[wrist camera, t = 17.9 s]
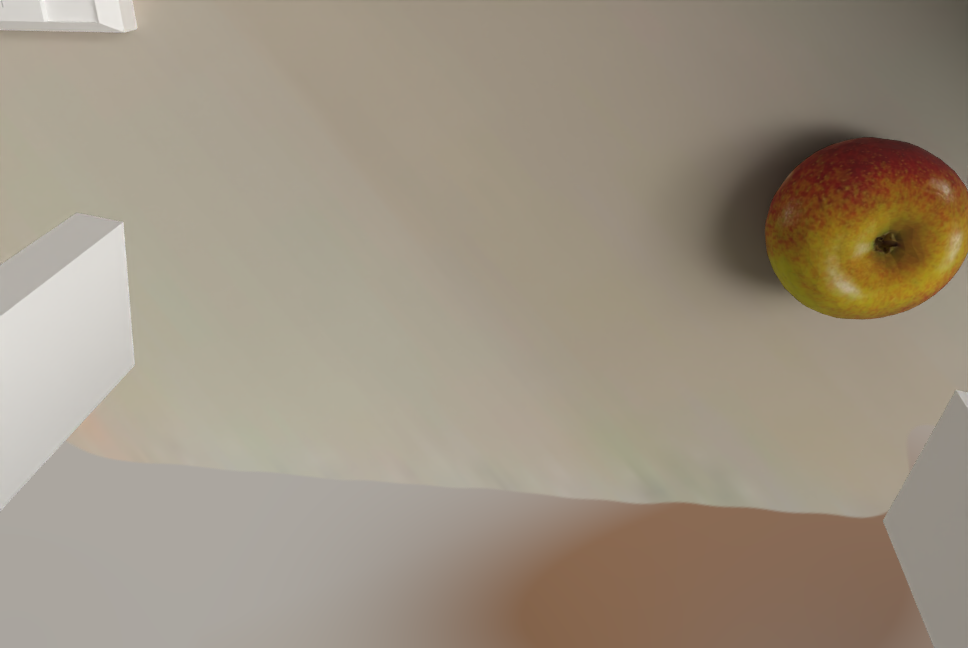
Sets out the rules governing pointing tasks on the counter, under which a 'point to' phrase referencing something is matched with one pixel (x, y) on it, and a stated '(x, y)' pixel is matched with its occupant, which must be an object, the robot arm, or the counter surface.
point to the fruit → (868, 228)
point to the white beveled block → (68, 15)
